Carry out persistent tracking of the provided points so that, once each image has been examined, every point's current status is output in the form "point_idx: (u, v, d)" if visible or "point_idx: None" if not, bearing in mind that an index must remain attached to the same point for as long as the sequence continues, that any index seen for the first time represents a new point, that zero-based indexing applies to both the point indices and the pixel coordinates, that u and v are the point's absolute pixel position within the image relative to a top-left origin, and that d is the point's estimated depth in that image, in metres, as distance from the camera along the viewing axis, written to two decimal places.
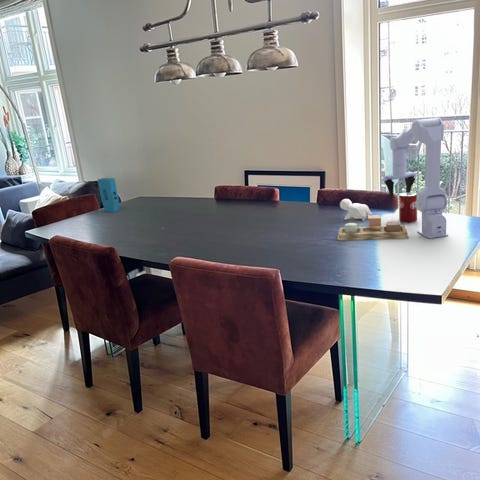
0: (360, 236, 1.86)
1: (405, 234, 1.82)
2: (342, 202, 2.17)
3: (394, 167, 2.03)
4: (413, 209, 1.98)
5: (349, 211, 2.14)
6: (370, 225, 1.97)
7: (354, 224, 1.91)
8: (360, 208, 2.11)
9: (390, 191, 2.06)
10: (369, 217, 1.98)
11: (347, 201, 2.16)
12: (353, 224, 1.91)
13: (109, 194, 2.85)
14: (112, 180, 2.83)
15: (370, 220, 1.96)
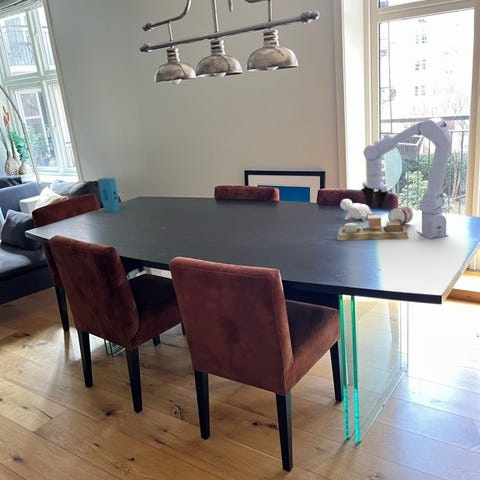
0: (360, 236, 1.86)
1: (405, 234, 1.82)
2: (342, 202, 2.17)
3: None
4: (408, 220, 1.94)
5: (349, 211, 2.14)
6: (370, 225, 1.97)
7: (354, 224, 1.91)
8: (360, 208, 2.11)
9: None
10: (369, 217, 1.98)
11: (347, 201, 2.16)
12: (353, 224, 1.91)
13: (109, 194, 2.85)
14: (112, 180, 2.83)
15: (370, 220, 1.96)
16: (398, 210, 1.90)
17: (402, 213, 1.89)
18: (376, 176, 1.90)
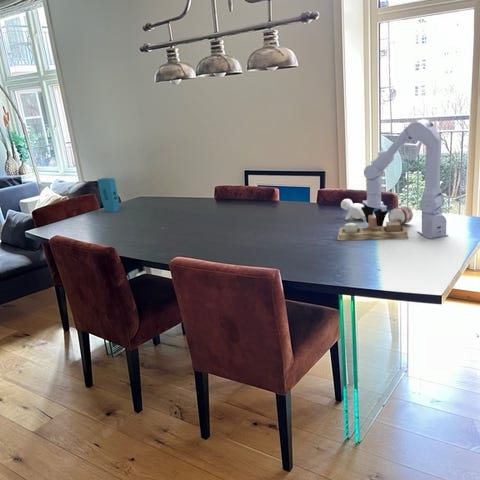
0: (360, 236, 1.86)
1: (405, 234, 1.82)
2: (343, 202, 2.17)
3: None
4: (408, 220, 1.94)
5: (350, 211, 2.14)
6: (370, 225, 1.97)
7: (354, 224, 1.91)
8: None
9: None
10: (369, 217, 1.98)
11: (347, 201, 2.16)
12: (353, 224, 1.91)
13: (109, 194, 2.85)
14: (112, 180, 2.83)
15: (370, 220, 1.96)
16: (398, 210, 1.90)
17: (402, 213, 1.89)
18: (376, 195, 1.92)
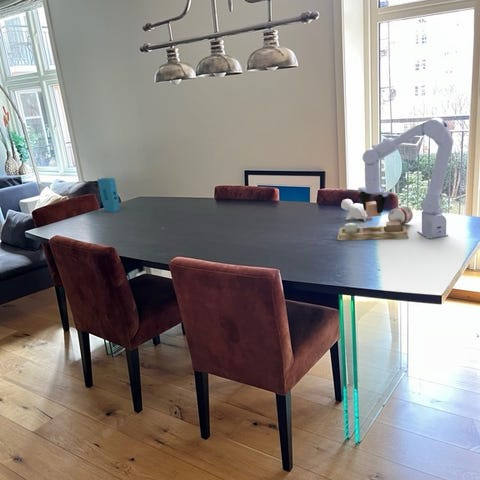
0: (360, 236, 1.86)
1: (405, 234, 1.82)
2: (343, 202, 2.16)
3: None
4: (408, 220, 1.94)
5: (350, 211, 2.14)
6: (370, 212, 1.91)
7: (354, 224, 1.91)
8: (361, 208, 2.10)
9: None
10: (368, 203, 1.91)
11: (348, 202, 2.16)
12: (353, 224, 1.91)
13: (109, 194, 2.85)
14: (112, 180, 2.83)
15: (370, 206, 1.90)
16: (398, 210, 1.90)
17: (402, 213, 1.89)
18: (376, 181, 1.87)
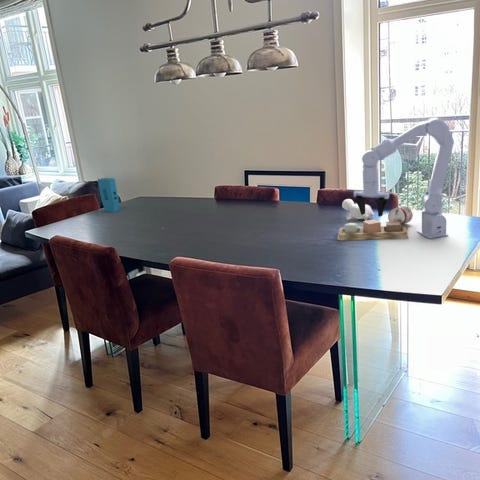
0: (360, 236, 1.86)
1: (405, 234, 1.82)
2: (344, 202, 2.16)
3: None
4: (408, 220, 1.94)
5: (351, 211, 2.13)
6: (370, 231, 1.86)
7: (354, 224, 1.91)
8: None
9: None
10: (368, 223, 1.87)
11: (349, 202, 2.15)
12: (353, 224, 1.91)
13: (109, 194, 2.85)
14: (112, 180, 2.83)
15: (370, 225, 1.86)
16: (398, 210, 1.90)
17: (402, 213, 1.89)
18: (376, 183, 1.81)
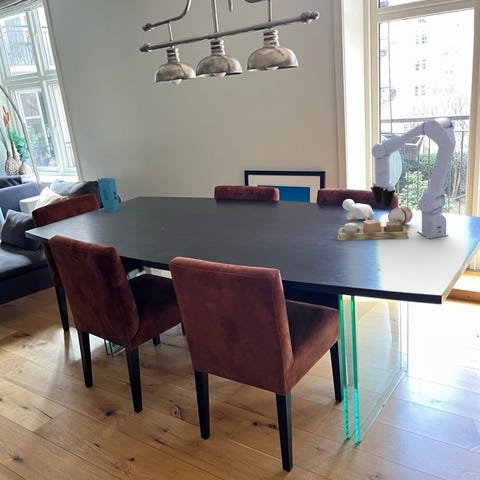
0: (360, 236, 1.86)
1: (405, 234, 1.82)
2: (345, 202, 2.16)
3: None
4: (408, 220, 1.94)
5: (352, 211, 2.13)
6: (370, 231, 1.86)
7: (354, 224, 1.91)
8: (363, 208, 2.10)
9: None
10: (368, 223, 1.87)
11: (349, 202, 2.15)
12: (353, 224, 1.91)
13: (109, 194, 2.85)
14: (112, 180, 2.83)
15: (370, 225, 1.86)
16: (398, 210, 1.90)
17: (402, 213, 1.89)
18: (384, 175, 1.91)
